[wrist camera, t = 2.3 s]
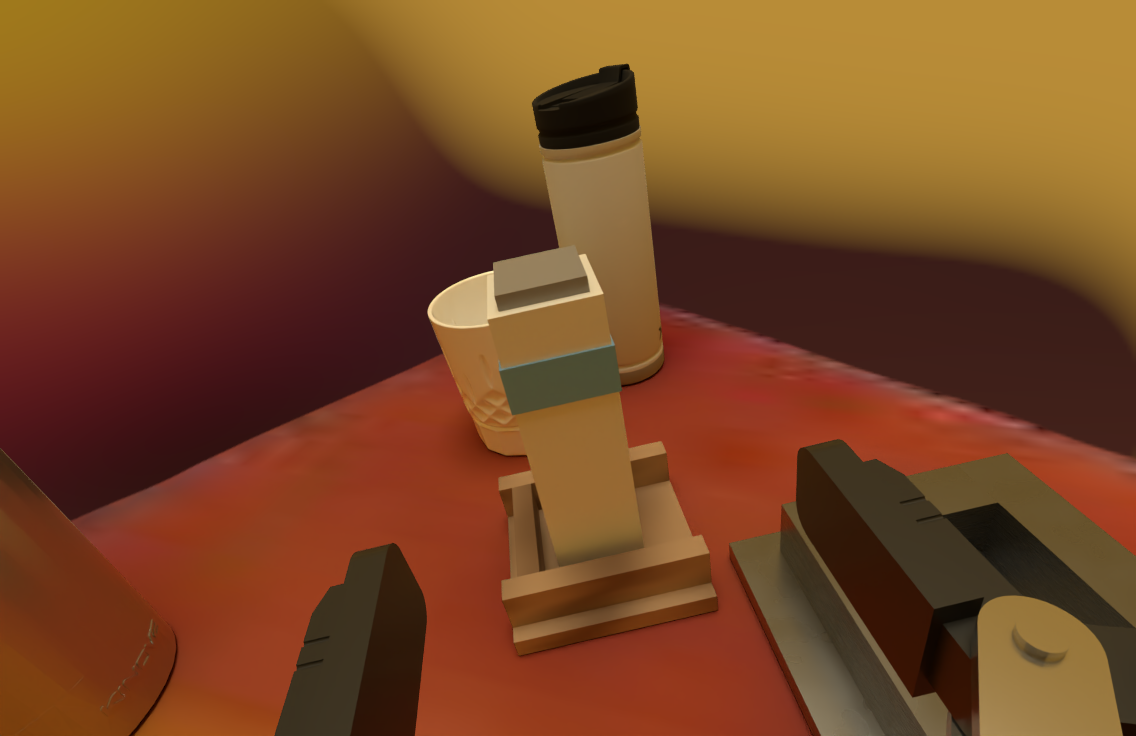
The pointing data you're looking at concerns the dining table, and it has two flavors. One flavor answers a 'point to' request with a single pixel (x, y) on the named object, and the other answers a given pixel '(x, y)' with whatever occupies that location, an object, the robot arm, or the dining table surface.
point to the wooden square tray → (603, 567)
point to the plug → (566, 400)
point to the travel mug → (605, 204)
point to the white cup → (475, 361)
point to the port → (992, 525)
